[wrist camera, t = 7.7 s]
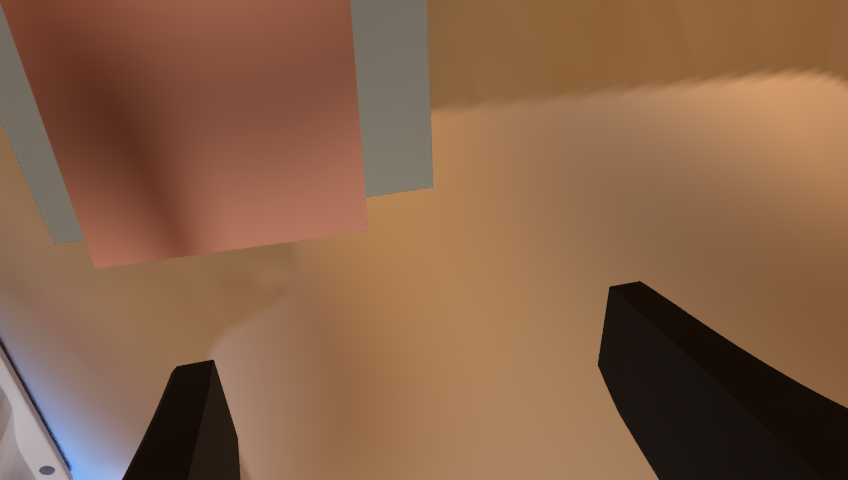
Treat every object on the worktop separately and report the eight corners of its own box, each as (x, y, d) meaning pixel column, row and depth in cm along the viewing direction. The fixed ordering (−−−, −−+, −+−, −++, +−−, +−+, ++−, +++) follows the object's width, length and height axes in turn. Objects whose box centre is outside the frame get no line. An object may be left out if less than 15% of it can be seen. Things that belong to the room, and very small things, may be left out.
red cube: (338, 126, 17) (368, 231, 13) (130, 149, 16) (94, 268, 12) (316, -91, 15) (346, -44, 10) (66, -77, 14) (-8, -20, 10)
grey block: (407, 132, 22) (433, 187, 19) (78, 177, 20) (54, 244, 18) (385, -251, 16) (417, -253, 13) (-77, -229, 15) (-150, -227, 12)
